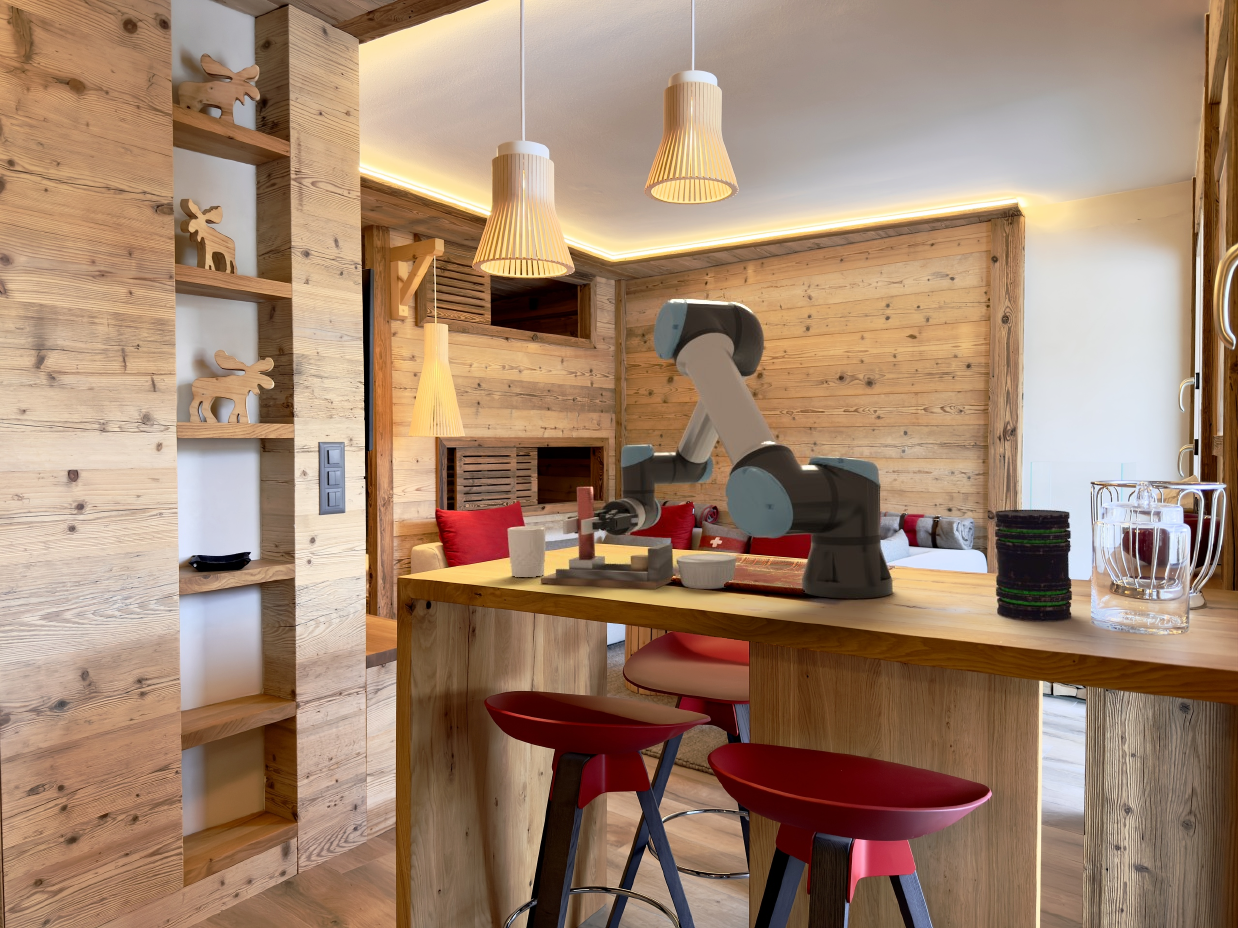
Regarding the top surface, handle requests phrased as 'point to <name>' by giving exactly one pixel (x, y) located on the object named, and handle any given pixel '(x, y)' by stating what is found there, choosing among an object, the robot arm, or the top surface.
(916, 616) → the top surface
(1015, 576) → the dark brown cylinder
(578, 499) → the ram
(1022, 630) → the top surface
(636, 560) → the nut
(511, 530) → the white cup
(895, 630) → the top surface
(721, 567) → the ramekin
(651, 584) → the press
